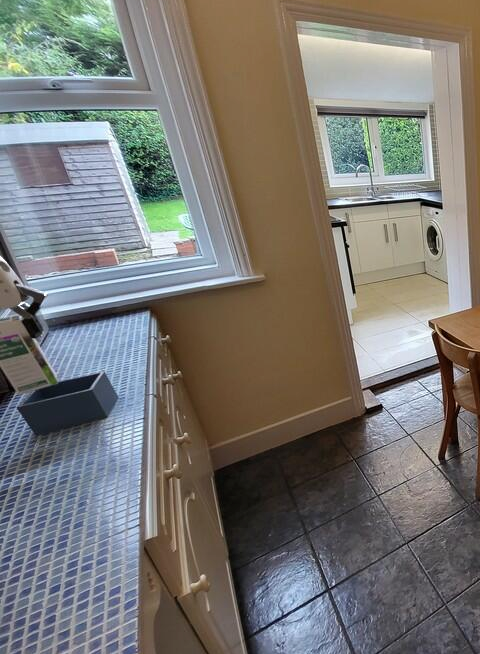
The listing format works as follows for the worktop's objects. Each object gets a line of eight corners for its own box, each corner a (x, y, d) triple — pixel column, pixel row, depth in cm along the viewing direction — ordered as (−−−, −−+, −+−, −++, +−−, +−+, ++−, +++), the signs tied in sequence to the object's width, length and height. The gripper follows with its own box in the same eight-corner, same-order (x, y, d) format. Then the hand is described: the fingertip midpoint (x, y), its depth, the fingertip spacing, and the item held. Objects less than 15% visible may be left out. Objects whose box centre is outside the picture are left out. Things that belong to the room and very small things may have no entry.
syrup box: (18, 396, 80) (-27, 328, 74) (18, 386, 84) (-24, 320, 78) (59, 384, 84) (19, 318, 78) (57, 375, 87) (20, 311, 81)
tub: (35, 436, 90) (16, 407, 87) (53, 413, 98) (35, 386, 95) (107, 417, 95) (91, 389, 92) (118, 397, 103) (104, 371, 100)
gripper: (30, 239, 79) (77, 324, 86) (-108, 254, 71) (-44, 346, 79) (13, 245, 73) (64, 336, 80) (-140, 263, 65) (-68, 361, 73)
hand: (10, 340), depth 79 cm, fingers closed on syrup box, 6 cm apart
